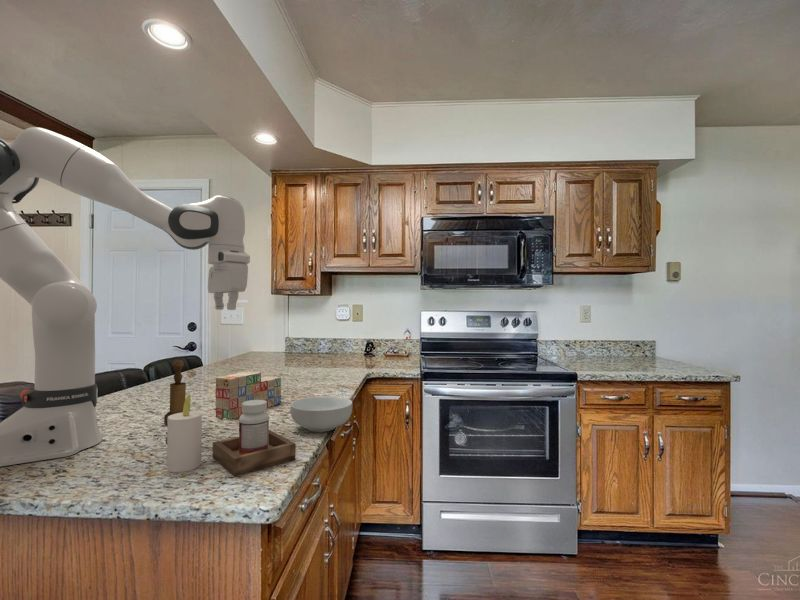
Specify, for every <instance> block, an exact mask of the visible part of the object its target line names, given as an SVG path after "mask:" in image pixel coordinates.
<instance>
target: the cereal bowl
mask: <svg viewBox="0 0 800 600" xmlns="http://www.w3.org/2000/svg"><path fill="white" fill-rule="evenodd" d="M352 411H353V401H352V400H351V399H349V398H345V397H340V396H333V395H332V396H331V395H321V396H320V395H319V396H318V395H315V396H307V397H306V396H305V397H302V398H298V399H296V400H293V401H292V402H291V403H290V414H291V415H290V416H291V419H292V421H294V422H295V424H297V425H298V426H300V427H302V428H305V429H306V430H308V431H309V432H314V433H317V432H318V433H323V432H330V431H333V430H335V429H336V428H338V427H340V426H342V425H344V424H346V422H348V421H349V420H350V417H351V415H352V414H353V412H352Z"/></svg>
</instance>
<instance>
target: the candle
mask: <svg viewBox="0 0 800 600" xmlns="http://www.w3.org/2000/svg"><path fill="white" fill-rule="evenodd" d="M202 421H203V413H202V412H200V411H191V394H190V393H189V394H188V395H186V396H185V402H184V407H183V412H181V413H176V414H172V415H170V416H168V421H167V425H166V426H167V428H166V430H167V431H165V435H166V437H165V445H167V446H166V470H167V472H171V473H183V472H188V471H192V470H195V469H196V468H199V467H200V466H201V465H202V438H203V437H202V434H203V432H202V429H203V427H202V423H203V422H202Z"/></svg>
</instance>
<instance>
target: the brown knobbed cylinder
mask: <svg viewBox="0 0 800 600" xmlns="http://www.w3.org/2000/svg"><path fill="white" fill-rule="evenodd" d="M184 366H185V363H184V361H183V359H175V360H173V361H172V363H171V367H172V369H173V370H174V375H173V380H174V382H172V383H170V384H169V387H170V388H169V411H168V412H167V413H166V414H164V417H163V419H164V420H163V423H164V425H166V426H167V421H168V416H170V415H172V414H176V413H181V412H183V407H184V402H185V399H186V391H187V390H186V388H187V387H186V386H187V383H186V382H182V380H183V374H182V370H183V368H184Z"/></svg>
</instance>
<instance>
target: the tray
mask: <svg viewBox="0 0 800 600" xmlns="http://www.w3.org/2000/svg"><path fill="white" fill-rule="evenodd" d="M296 445H297V444H296V442H293V441H291V440H289V439H288V438H285V437H284V436H282V435H280V434H278V433H277V432H274V431H272V430H271V429H269V448H267V449H263V450H259V451H255V452H251V453H247V454H243V455H239V436H235V437H230V438H226V439H222V440H217V441H214V442H212V460H213V461H215V462H216V463H217V464H219V465H220V466H221V467H222V468H223V469H225V471H227V472H228V473H229V474H230V475H232V476H233V477H234V478H236V477H239V476H243V475H246V474H249V473H253V472H256V471H260V470H263V469H264V468H265V469H267V468H271V466H272V467H275V466H278V465H282V464H285V463H289V462H292V461H295V460H296V450H297V449H296V447H297V446H296ZM265 469H264V470H265Z"/></svg>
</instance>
